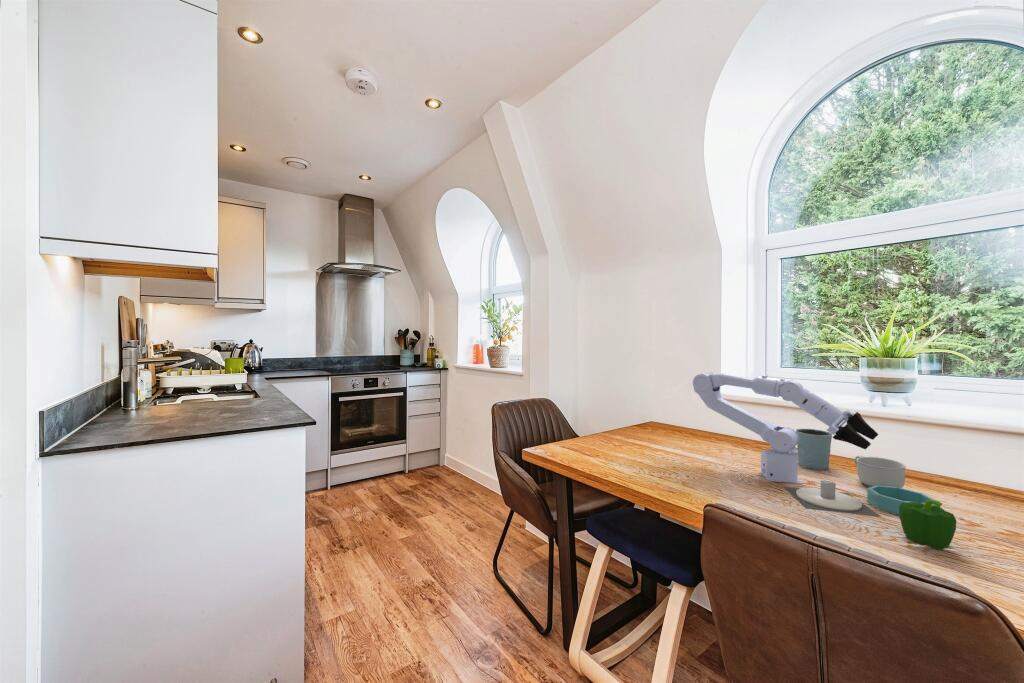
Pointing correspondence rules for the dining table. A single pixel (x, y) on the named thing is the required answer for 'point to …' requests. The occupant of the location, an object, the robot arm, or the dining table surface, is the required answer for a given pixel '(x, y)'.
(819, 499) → the lid
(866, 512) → the mat
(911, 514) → the bell pepper
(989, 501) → the dining table surface
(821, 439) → the teal cup
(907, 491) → the bowl
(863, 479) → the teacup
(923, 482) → the dining table surface
